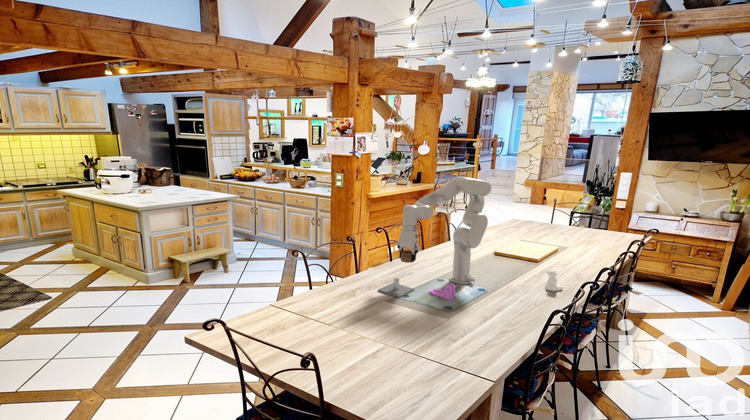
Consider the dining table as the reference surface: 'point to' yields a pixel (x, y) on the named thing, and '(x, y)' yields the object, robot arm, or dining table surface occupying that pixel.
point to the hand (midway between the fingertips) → (407, 259)
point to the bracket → (445, 291)
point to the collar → (406, 256)
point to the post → (396, 289)
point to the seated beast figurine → (552, 281)
